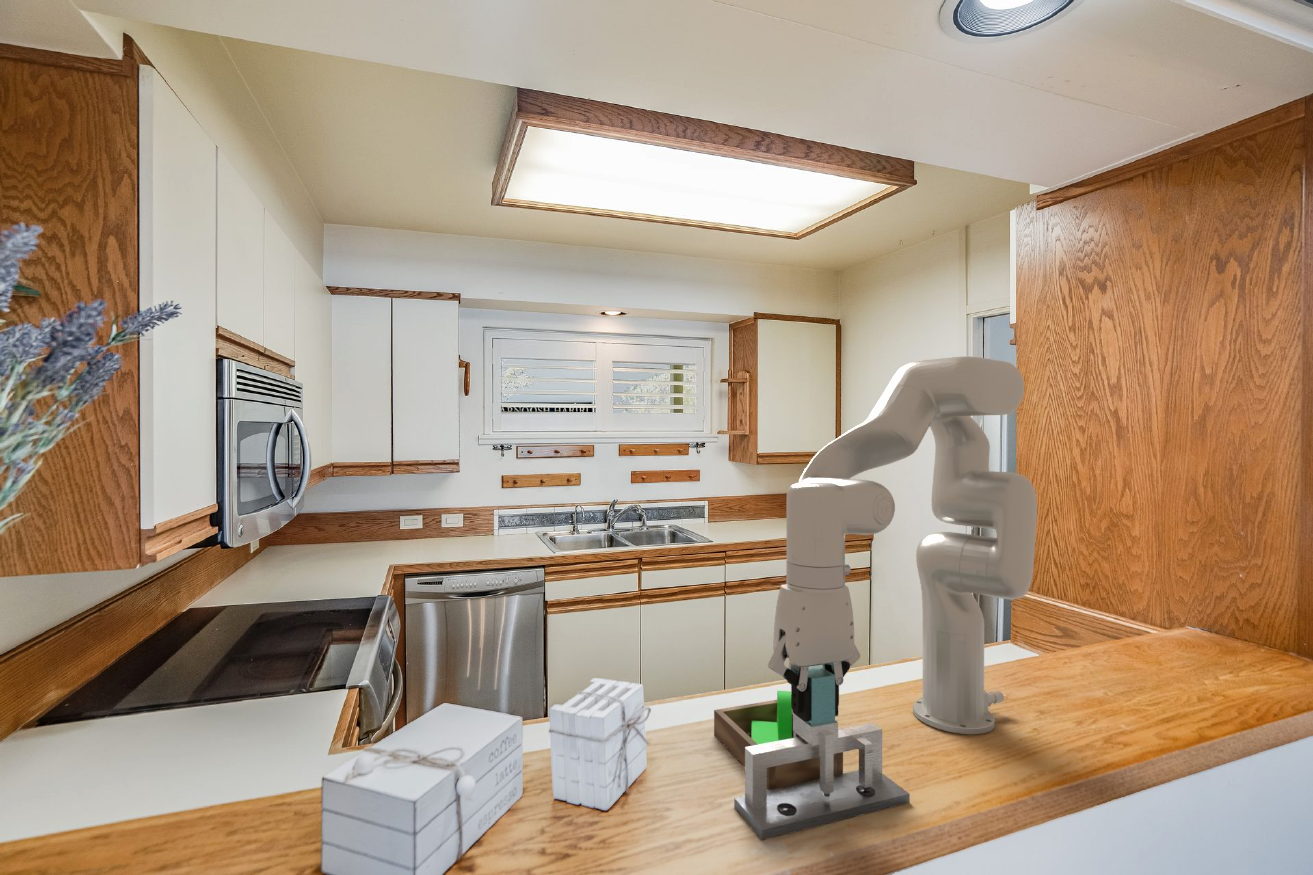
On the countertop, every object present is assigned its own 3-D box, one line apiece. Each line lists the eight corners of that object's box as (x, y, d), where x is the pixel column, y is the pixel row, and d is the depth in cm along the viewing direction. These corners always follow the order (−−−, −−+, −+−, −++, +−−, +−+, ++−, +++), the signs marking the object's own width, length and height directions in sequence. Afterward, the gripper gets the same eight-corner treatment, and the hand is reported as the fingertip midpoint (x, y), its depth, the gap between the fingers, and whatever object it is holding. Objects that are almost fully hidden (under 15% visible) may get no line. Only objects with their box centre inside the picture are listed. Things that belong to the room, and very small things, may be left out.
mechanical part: (751, 732, 99) (752, 683, 99) (789, 735, 98) (790, 685, 98) (751, 772, 87) (751, 715, 87) (794, 776, 86) (794, 719, 86)
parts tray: (778, 723, 103) (778, 699, 103) (843, 775, 87) (843, 746, 87) (714, 734, 98) (714, 709, 98) (768, 791, 82) (769, 761, 83)
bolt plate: (873, 775, 87) (873, 765, 87) (909, 802, 80) (909, 792, 80) (734, 806, 79) (734, 796, 79) (761, 840, 72) (761, 829, 72)
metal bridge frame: (872, 780, 85) (872, 722, 85) (893, 796, 81) (893, 735, 82) (744, 809, 78) (745, 747, 78) (761, 828, 75) (761, 762, 75)
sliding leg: (818, 773, 84) (818, 664, 84) (842, 794, 79) (842, 678, 79) (792, 778, 82) (793, 668, 82) (816, 800, 77) (816, 682, 77)
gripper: (849, 566, 87) (848, 694, 87) (746, 574, 82) (745, 712, 82) (885, 577, 80) (885, 717, 80) (775, 587, 75) (775, 737, 75)
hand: (815, 713), depth 81 cm, fingers closed on sliding leg, 3 cm apart
